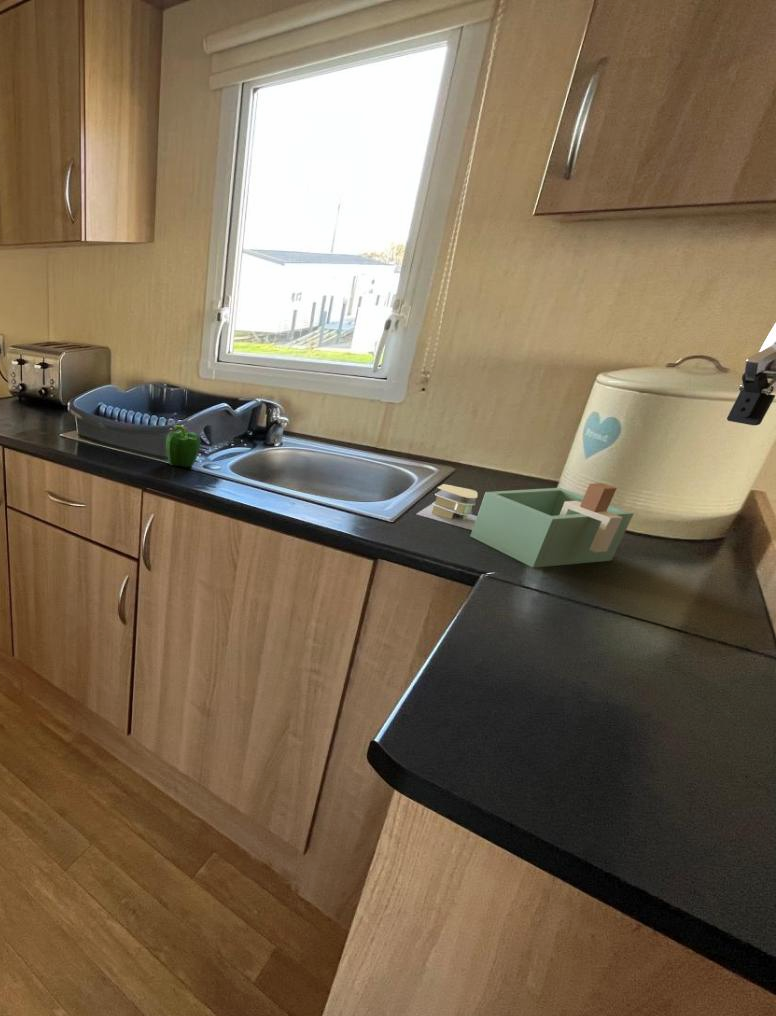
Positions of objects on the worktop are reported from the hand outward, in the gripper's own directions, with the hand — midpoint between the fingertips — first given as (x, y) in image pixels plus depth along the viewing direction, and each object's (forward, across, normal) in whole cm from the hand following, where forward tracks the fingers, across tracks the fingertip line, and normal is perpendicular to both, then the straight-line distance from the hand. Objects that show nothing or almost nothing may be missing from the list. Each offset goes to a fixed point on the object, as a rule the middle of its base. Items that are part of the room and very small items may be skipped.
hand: (769, 422), depth 74 cm
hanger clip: (+22, -8, +10) cm, 26 cm away
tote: (+26, -8, +16) cm, 32 cm away
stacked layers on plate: (+26, -12, +31) cm, 43 cm away
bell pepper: (+26, -54, +71) cm, 93 cm away
